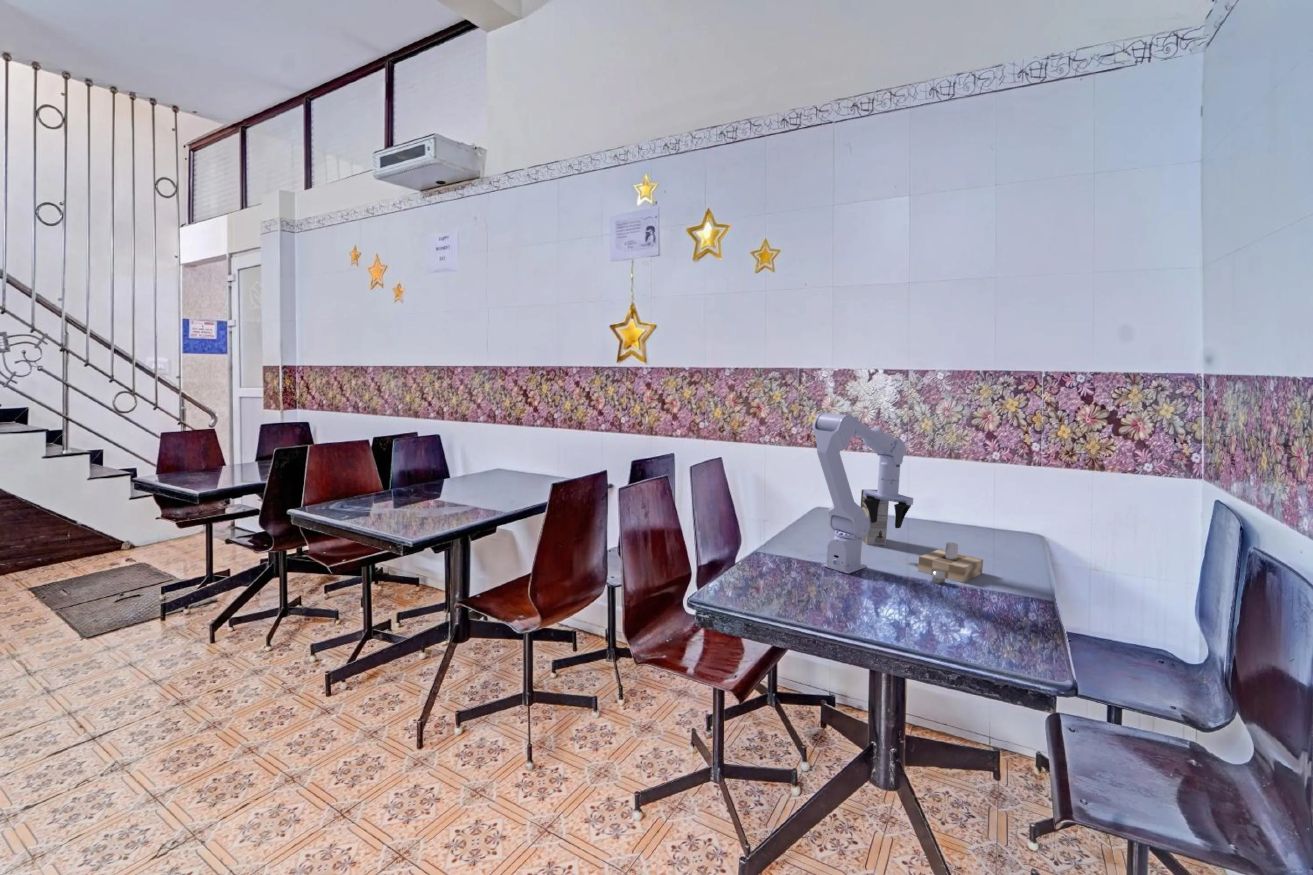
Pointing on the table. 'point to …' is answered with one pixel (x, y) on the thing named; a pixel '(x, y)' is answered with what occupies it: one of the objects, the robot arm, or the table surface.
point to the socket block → (951, 565)
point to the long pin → (951, 551)
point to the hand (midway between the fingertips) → (885, 524)
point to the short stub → (938, 577)
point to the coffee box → (876, 523)
